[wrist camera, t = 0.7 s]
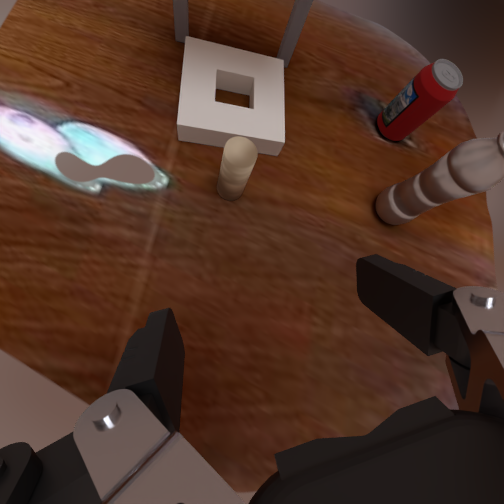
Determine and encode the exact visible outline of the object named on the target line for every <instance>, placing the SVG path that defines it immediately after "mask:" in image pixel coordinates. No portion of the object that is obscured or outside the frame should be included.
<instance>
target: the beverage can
mask: <svg viewBox="0 0 504 504" xmlns="http://www.w3.org/2000/svg"><path fill="white" fill-rule="evenodd" d="M462 83H463V77H462V74H461V72H460V70H459V69H458V68H457V67H456V65H454V64H453V63H452V62H450V61H448V60H445V59H439V60H437V61H436V62H435V63H433V64H430V65H428V66H426V67H424V68H423V69H422V70H421V71H420V72H419V73H418V74H417V75H416V76H415V77H414V78H413V79H412V80H411V81H410V82H409V83H408V84H407V86H406V87H405V88H404V89H403V90H402V91H401V92H400V93H399V94H398V95H397V96H396V97H395V98H394V99H393V100H392V101H391V102H390V103H389V104H388V106H387V107H386V108H385V109H384V110H383V111H382V112H381V113H380V114H379V116H378V119H377V124H378V127H379V130H380V132H381V133H382V135H383V136H385V137H386V138H388V139H390V140H393V141H400V140H402V139H404V138H405V137H406V136H408V135H409V134H410V133H411V132H413V131H414V130H415V129H416V128H418V127H419V126H420V125H421V124H423V123H424V122H425V121H426V120H428V119H429V118H430V117H431V116H432V115H434V114H435V113H436V112H437V111H439V110H440V109H441V108H442V107H443V106H445V105H446V104H447V103H448V102H450V101H451V100H452V99H453V98H454V97H455V95H456V93H457V91H458V89H459V88H460V87H461V85H462Z"/></svg>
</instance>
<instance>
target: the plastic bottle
mask: <svg viewBox="0 0 504 504" xmlns="http://www.w3.org/2000/svg"><path fill="white" fill-rule="evenodd" d="M503 178H504V131H502V132H501V133H499V135H498V137H497V138H481V139H472V140H469V141H466V142H463V143H461V144H459V145H458V146H456V147H455V148H453V149H452V150H451V151H449V152H448V153H447V154H446V155H444V156H443V157H442V158H441V159H439V160H438V161H437V162H435V163H434V164H433V165H431V166H430V167H428V168H427V169H425V170H424V171H422V172H420V173H419V174H417V175H415V176H413V177H411V178H409V179H407V180H405V181H403V182H401V183H398V184H395V185H392V186H390V187H388V188H386V189H385V190H383V191H382V192H381V193H380V194H379V195H378V197H377V200H376V204H375V207H376V212H377V214H378V216H379V217H380V218H381V219H382V220H383V221H384V222H386V223H389V224H392V225H399V224H404V223H407V222H409V221H411V220H412V219H414V218H415V217H417V216H418V215H420V214H422V213H424V212H426V211H427V210H429V209H431V208H433V207H435V206H438V205H441V204H443V203H447V202H449V201H452V200H455V199H459V198H463V197H466V196H470V195H474V194H477V193H481V192H484V191H487V190H490V189H491V188H493V187H494V186H496V185H497V184H498V183H500V182H501V180H502V179H503Z"/></svg>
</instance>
